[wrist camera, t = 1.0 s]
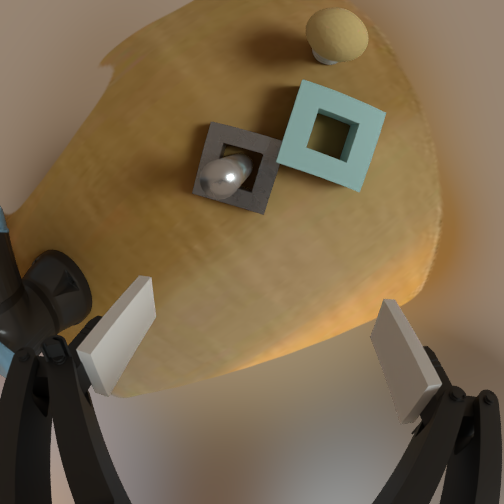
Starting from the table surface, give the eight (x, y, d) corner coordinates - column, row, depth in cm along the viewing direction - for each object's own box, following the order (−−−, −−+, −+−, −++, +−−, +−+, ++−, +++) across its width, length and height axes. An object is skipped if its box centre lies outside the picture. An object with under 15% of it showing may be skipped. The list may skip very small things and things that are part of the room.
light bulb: (360, 63, 27) (388, 40, 17) (320, 83, 28) (336, 62, 19) (331, 25, 25) (348, -9, 16) (290, 44, 27) (294, 11, 17)
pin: (224, 174, 34) (195, 193, 22) (231, 150, 33) (205, 155, 21) (249, 181, 34) (233, 204, 22) (256, 157, 33) (244, 166, 21)
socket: (276, 160, 33) (276, 162, 29) (299, 86, 29) (302, 79, 25) (350, 186, 33) (359, 192, 29) (374, 115, 29) (386, 113, 25)
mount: (197, 189, 35) (192, 193, 33) (215, 122, 31) (211, 121, 29) (264, 209, 35) (263, 214, 33) (286, 142, 32) (286, 142, 29)
